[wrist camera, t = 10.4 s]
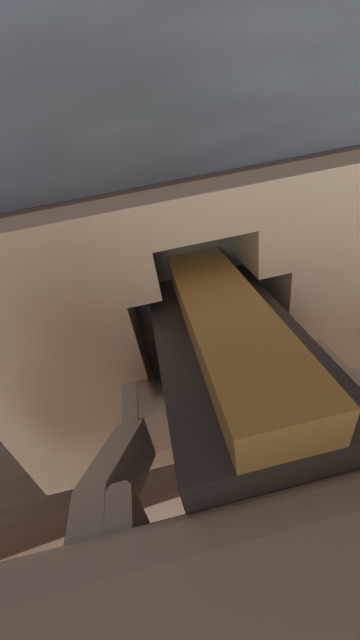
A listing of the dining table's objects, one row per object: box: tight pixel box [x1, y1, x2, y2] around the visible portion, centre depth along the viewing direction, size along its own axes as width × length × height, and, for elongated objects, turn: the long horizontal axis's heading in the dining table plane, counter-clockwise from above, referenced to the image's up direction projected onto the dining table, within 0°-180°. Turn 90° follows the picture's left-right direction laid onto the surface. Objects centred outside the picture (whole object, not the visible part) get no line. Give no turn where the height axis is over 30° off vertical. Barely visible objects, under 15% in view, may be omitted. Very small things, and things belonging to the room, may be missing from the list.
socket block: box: [0, 145, 360, 496], centre depth 12 cm, size 12×18×4 cm, turn 99°
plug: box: [150, 246, 360, 515], centre depth 10 cm, size 9×4×8 cm, turn 9°
